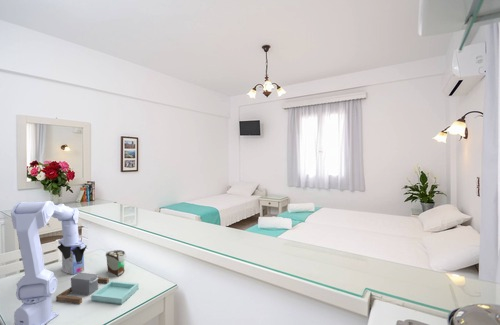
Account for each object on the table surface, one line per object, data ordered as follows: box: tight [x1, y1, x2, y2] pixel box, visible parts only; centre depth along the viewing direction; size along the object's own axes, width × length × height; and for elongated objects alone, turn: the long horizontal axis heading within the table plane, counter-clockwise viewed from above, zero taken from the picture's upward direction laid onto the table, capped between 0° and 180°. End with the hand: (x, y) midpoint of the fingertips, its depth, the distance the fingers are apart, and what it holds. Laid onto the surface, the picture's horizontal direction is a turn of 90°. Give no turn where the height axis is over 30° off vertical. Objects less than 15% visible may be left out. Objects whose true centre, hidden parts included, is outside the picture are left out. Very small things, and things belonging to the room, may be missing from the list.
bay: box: [55, 276, 110, 305], centre depth 101 cm, size 15×11×2 cm
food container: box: [105, 249, 127, 278], centre depth 117 cm, size 12×6×10 cm, turn 59°
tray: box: [90, 280, 139, 305], centre depth 98 cm, size 10×14×2 cm
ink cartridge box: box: [61, 246, 85, 276], centre depth 118 cm, size 10×6×14 cm, turn 66°
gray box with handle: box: [70, 272, 99, 297], centre depth 101 cm, size 4×10×7 cm, turn 80°
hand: (73, 259), depth 109 cm, fingers open, 7 cm apart
